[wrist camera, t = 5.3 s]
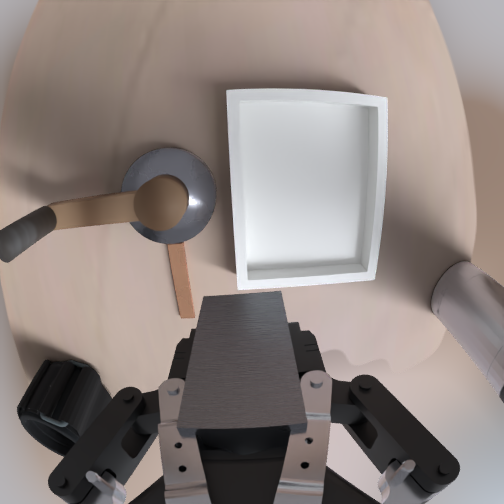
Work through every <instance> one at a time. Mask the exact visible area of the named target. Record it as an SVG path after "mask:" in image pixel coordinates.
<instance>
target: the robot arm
mask: <svg viewBox="0 0 504 504" xmlns="http://www.w3.org/2000/svg"><path fill="white" fill-rule="evenodd" d="M431 307H432V311H433V313H434V314H435V315H436V317H437V318H438V319H439V320H440V321H441V322H442V324H443V325H444V326H445V327H446V328H447V329H448V331H449V332H450V333H451V334H452V335H453V337H454V338H455V339H456V340H457V342H458V343H459V344H460V345H461V346H462V348H463V349H464V350H465V351H466V353H467V354H468V355H469V356H470V358H471V359H472V360H473V362H474V363H475V364H476V365H477V367H478V368H479V369H480V371H481V372H482V373H483V375H484V376H485V377H486V379H487V380H488V381H489V383H490V384H491V385H492V387H493V388H494V390H495V391H496V392H497V394H498V395H499V397H500V398H501V400H502V401H503V403H504V287H503V286H502V285H500V284H499V283H498V282H497V281H495V280H494V279H493V278H492V277H490V276H489V275H487V273H485V272H484V271H483V270H481V269H479V268H478V267H476V266H475V265H473V264H472V263H471V262H468V261H462V262H459V263H457V264H455V265H453V266H452V267H451V268H449V269H448V270H447V271H446V272H445V273H444V275H443V276H442V277H441V279H440V280H439V281H438V283H437V285H436V287H435V289H434V292H433V295H432V300H431ZM288 326H289V331H290V336H291V341H292V346H293V350H294V355H295V360H296V365H297V370H298V375H299V380H300V385H301V390H302V395H303V401H304V406H305V411H306V416H307V421H308V424H307V428H303V429H294V430H291V432H290V437H289V442H288V447H281V448H270V449H266V450H262V451H259V452H255V453H251V454H247V455H241V454H236V453H231V452H226V451H221V450H200V443H199V441H198V439H197V436H196V434H194V433H179V432H178V430H177V428H176V427H177V421H178V416H179V411H180V405H181V400H182V395H183V390H184V385H185V380H186V375H187V370H188V365H189V360H190V356H191V351H192V346H193V341H194V337H195V332H196V329H191V333H190V337H189V338H183V339H182V340H181V341H180V342H179V343H178V344H177V347H176V350H175V354H174V359H173V361H172V365H171V369H170V373H169V377H168V380H166V381H164V382H163V383H162V384H161V385H160V386H159V389H158V390H155V391H152V392H147V393H141V391H140V390H139V389H137V388H135V387H126V388H124V389H122V390H120V391H119V392H118V393H117V394H116V395H115V396H114V398H113V399H112V400H111V401H110V402H109V404H108V405H107V406H106V407H105V408H104V410H103V411H102V412H101V413H100V414H99V416H98V417H97V418H96V419H95V420H94V422H93V423H92V424H91V425H90V426H89V428H88V429H87V430H86V431H85V432H84V434H83V435H82V436H81V437H80V439H79V440H78V441H77V442H76V443H75V445H74V446H73V447H72V448H71V449H70V451H69V452H68V453H67V454H66V456H65V457H64V458H63V459H62V461H61V462H60V463H59V464H58V466H57V467H56V468H55V469H54V470H53V472H52V473H51V474H50V476H49V479H48V484H49V488H50V490H51V491H52V492H53V493H54V494H56V495H57V496H59V497H60V498H62V499H63V500H64V501H65V502H66V503H68V504H124V502H125V498H126V490H125V488H124V485H125V483H126V482H127V481H128V479H129V477H130V476H131V475H132V473H133V472H134V470H135V469H136V467H137V466H138V464H139V463H140V461H141V460H142V458H143V457H144V455H145V454H146V452H147V451H148V449H149V448H150V446H151V445H152V443H153V441H154V440H155V438H156V437H157V435H158V434H159V443H160V451H161V460H162V467H163V476H161V477H160V478H159V479H158V480H157V481H156V482H155V483H153V484H152V485H151V486H150V487H149V488H147V489H146V490H145V491H144V492H142V493H141V494H140V495H139V496H137V497H136V498H135V499H134V500H132V501H131V502H130V503H129V504H425V503H426V502H427V501H429V500H430V499H432V498H433V497H434V496H436V495H437V494H438V493H439V492H441V491H442V490H443V489H444V488H446V487H447V486H448V485H449V484H450V483H451V482H453V481H454V480H455V479H456V478H457V476H458V474H459V471H460V465H459V462H458V461H457V459H456V458H455V457H454V456H453V455H452V454H451V453H450V452H449V451H448V450H447V449H446V448H445V447H444V446H443V445H442V444H441V443H440V442H439V441H438V440H437V439H436V438H435V437H434V436H433V435H432V434H431V433H430V432H429V431H428V430H427V429H426V428H425V427H424V426H423V425H422V424H421V423H420V422H419V421H418V420H417V419H416V418H415V417H414V416H413V415H412V414H411V413H410V412H409V411H408V410H407V409H406V408H405V407H404V406H403V405H402V404H401V403H400V402H399V401H398V400H397V399H396V398H395V397H394V396H393V395H392V394H391V393H390V392H389V391H388V390H387V389H386V388H385V387H384V386H383V385H382V384H381V383H380V382H379V381H378V380H377V379H376V378H375V377H373V376H370V375H359V376H357V377H355V378H354V379H353V380H352V381H351V382H346V381H338V380H335V379H333V378H331V377H330V375H329V374H327V373H326V371H325V367H324V364H323V361H322V357H321V354H320V351H319V348H318V345H317V341H316V338H315V336H314V335H313V334H312V333H311V332H310V331H309V330H308V331H301V330H300V327H299V323H298V322H291V323H288ZM330 423H340V424H342V425H343V426H344V427H345V429H346V430H347V431H348V432H349V434H350V435H351V436H352V438H353V439H354V440H355V441H356V443H357V444H358V445H359V446H360V447H361V449H362V450H363V452H364V453H365V454H366V455H367V456H368V458H369V459H370V460H371V461H372V463H373V464H374V465H375V466H376V468H377V469H378V470H379V471H380V473H381V474H382V475H381V477H380V478H379V481H378V487H379V490H380V492H381V495H382V501H381V503H379V502H378V501H376V500H375V499H373V498H372V497H370V496H369V495H367V494H366V493H364V492H363V491H361V490H360V489H358V488H357V487H355V486H354V485H352V484H351V483H349V482H348V481H347V480H345V479H344V478H342V477H341V476H340V475H338V474H337V473H335V472H334V471H333V470H331V469H330V468H329V467H328V466H326V462H327V454H328V444H329V433H330Z"/></svg>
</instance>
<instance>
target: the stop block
mask: <svg viewBox="0 0 504 504" xmlns="http://www.w3.org/2000/svg"><path fill="white" fill-rule="evenodd" d="M307 424H308V421H307V416H306V411H305V406H304V401H303V395H302V390H301V385H300V380H299V375H298V370H297V365H296V360H295V355H294V350H293V346H292V341H291V336H290V331H289V326H288V322H287V317H286V312H285V307H284V303H283V298H282V293H281V291H274V292H262V293H249V294H234V295H219V296H204V297H203V301H202V305H201V310H200V314H199V319H198V323H197V328H196V332H195V337H194V341H193V346H192V351H191V356H190V360H189V365H188V370H187V375H186V380H185V385H184V390H183V395H182V400H181V405H180V411H179V416H178V421H177V427H176V428H177V430H178V432H179V433H194V434H196V436H197V439H198V441H199V443H200V450H221V451H226V452H231V453H236V454H241V455H247V454H251V453H255V452H259V451H262V450H266V449H270V448H281V447H288V442H289V437H290V432H291V430H294V429H303V428H307Z"/></svg>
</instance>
